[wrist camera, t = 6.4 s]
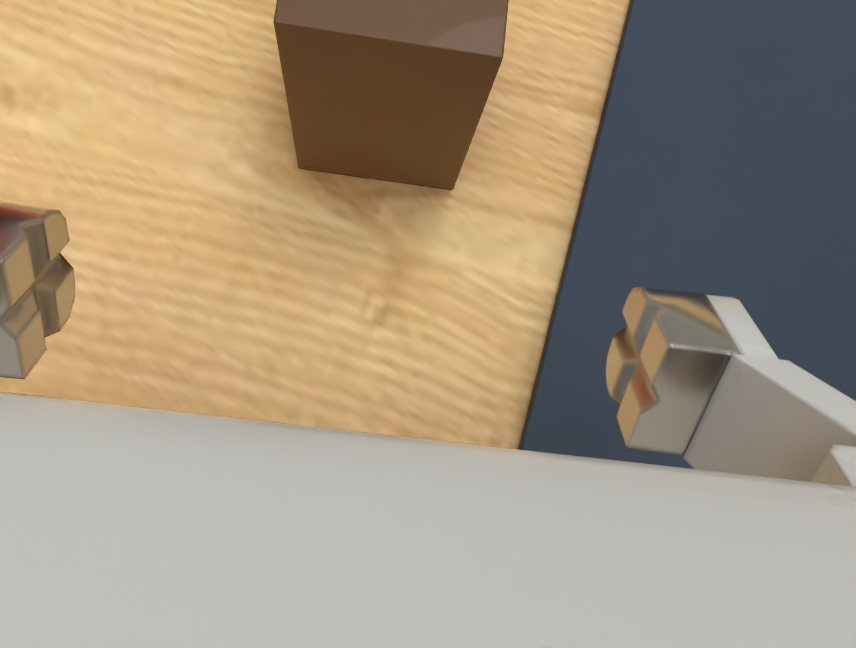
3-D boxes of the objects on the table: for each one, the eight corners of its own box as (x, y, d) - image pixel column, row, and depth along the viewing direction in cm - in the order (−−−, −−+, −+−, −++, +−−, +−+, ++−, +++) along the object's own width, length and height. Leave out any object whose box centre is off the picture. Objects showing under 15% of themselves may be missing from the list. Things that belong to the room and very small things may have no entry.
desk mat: (650, -80, 27) (655, -90, 26) (1007, 38, 27) (1019, 30, 27) (514, 463, 23) (518, 463, 22) (938, 586, 23) (951, 588, 23)
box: (469, 51, 25) (525, -140, 17) (454, 190, 24) (506, 56, 16) (318, 27, 24) (302, -180, 17) (296, 168, 24) (270, 19, 16)
